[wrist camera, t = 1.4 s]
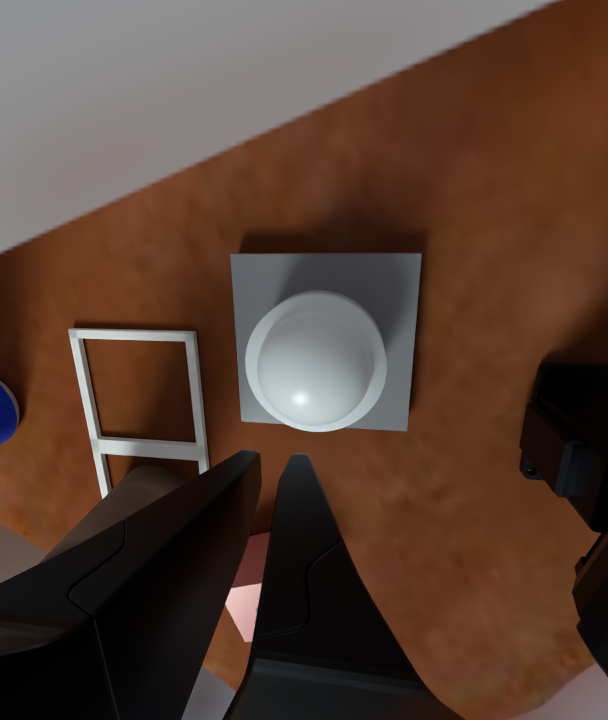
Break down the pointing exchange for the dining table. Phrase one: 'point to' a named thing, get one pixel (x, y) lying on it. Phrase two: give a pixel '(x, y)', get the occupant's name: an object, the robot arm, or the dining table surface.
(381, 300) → the dome base
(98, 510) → the brown lumpy cylinder
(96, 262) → the dining table surface
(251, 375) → the dome
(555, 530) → the dining table surface
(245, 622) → the red die
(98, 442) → the white rectangular frame
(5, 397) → the beverage can
